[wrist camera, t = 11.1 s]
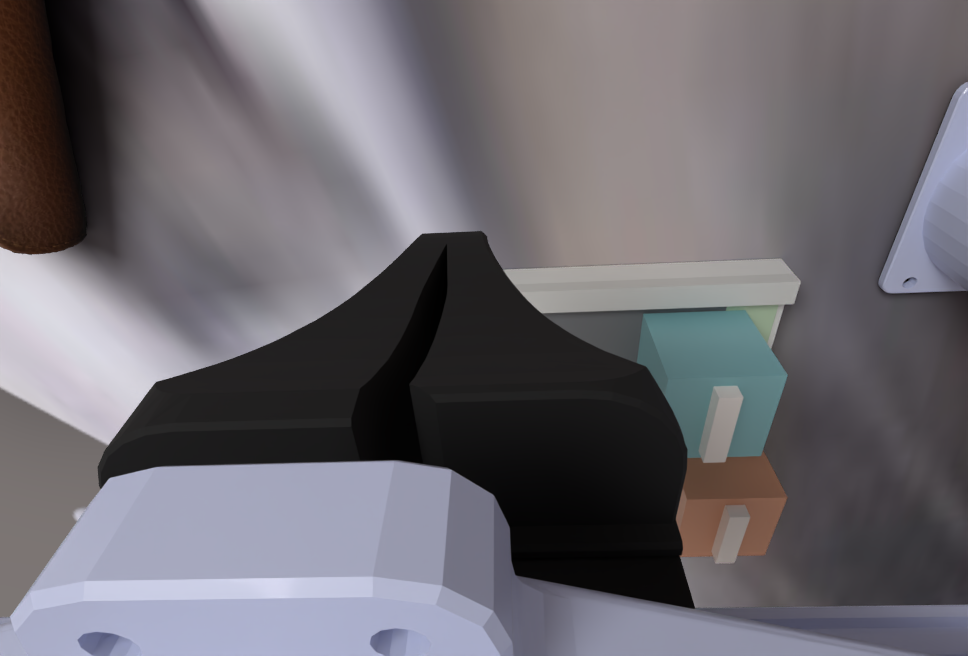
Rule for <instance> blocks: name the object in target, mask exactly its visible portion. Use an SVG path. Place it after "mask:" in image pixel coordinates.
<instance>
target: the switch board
mask: <svg viewBox="0 0 968 656" xmlns="http://www.w3.org/2000/svg"><path fill="white" fill-rule="evenodd" d="M503 271H504V272H505V273H506V275H507V276H508V278H509V279H510V280H511V282H512V283H513V284H514V285H515V287H516V288H517V289H518V290H519V291H520V292H521V294H522V295H523V296H524V297H525V298H526V299H527V300H528V301H529V302H530V303H531V304H532V305H533V306H534V307H535V308H536V309H537V310H538V311H540V312H541V313H542V314H543V315H544V316H546V317H547V318H548V319H550V320H551V321H552V322H554V323H555V324H557V325H558V326H560V327H561V328H563V329H564V330H566V331H567V332H569V333H571V334H573V335H574V336H576V337H578V338H579V339H581V340H583V341H585V342H587V343H589V344H591V345H593V346H595V347H597V348H599V349H602V350H604V351H606V352H609V353H611V354H614V355H617V356H620V357H622V358H625V359H628V360H630V361H633V362H636V363H637V357H638V350H639V342H640V334H641V326H642V319H643V314H649V313H676V312H704V311H732V310H746V312H747V313H748V315H749V317H750V318H751V320H752V321H753V323H754V324H755V326H756V327H757V329H758V330H759V332H760V333H761V335H762V336H763V338H764V340H765V341H766V343H767V344H768V346H769V347H770V349H771V348H772V345H773V342H774V338H775V335H776V332H777V328H778V325H779V322H780V318H781V315H782V312H783V308H784V305H785V304H794V302H795V299H796V296H797V293H798V289H799V286H800V283H801V281H800V280H799V279H798V278H797V277H796V275H795V274H794V273H793V272H792V271H791V270H790V268H789V267H788V266H787V265H786V264H785V263H784V261H783V260H782V259H758V260H733V261H708V262H682V263H657V264H632V265H607V266H582V267H557V268H532V269H507V270H503Z"/></svg>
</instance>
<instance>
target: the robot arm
mask: <svg viewBox="0 0 968 656" xmlns="http://www.w3.org/2000/svg"><path fill="white" fill-rule="evenodd" d="M908 278H910V279H909V281H907V282H906V283H903V282H904V281H905V280H906V279H908ZM878 284H879V286H880V288H881V289H882V290H884V291H885V292H886V293H891V294H892V293H919V292H946V291H968V82H966V83H965V84H963V85H961V86H960V87H959V88H958V89H957V90H956V92H955V93H954V95H953V97H952V99H951V102H950V104H949V107H948V109H947V112H946V114H945V117H944V119H943V122H942V124H941V127H940V129H939V132H938V134H937V137H936V139H935V142H934V144H933V147H932V149H931V151H930V154H929V156H928V159H927V161H926V164H925V166H924V169H923V171H922V174H921V176H920V179H919V181H918V184H917V186H916V189H915V191H914V194H913V196H912V199H911V201H910V204H909V206H908V209H907V211H906V214H905V216H904V219H903V221H902V224H901V226H900V229H899V231H898V233H897V236H896V238H895V241H894V243H893V246H892V248H891V251H890V253H889V256H888V258H887V261H886V263H885V266H884V268H883V271H882V273H881V276H880V278H879V282H878ZM687 453H688V449H687V447H686V444H685V441H684V437H683V434H682V431H681V428H680V426H679V423H678V421H677V419H676V417H675V414H674V412H673V410H672V408H671V406H670V405H669V403H668V401H667V399H666V398H665V396H664V394H663V392H662V391H661V389H660V387H659V386H658V384H657V382H656V381H655V379H654V377H653V376H652V374H651V373H650V371H649V370H648V368H647V367H646V366H644V365H641V364H638V363H636V362H633V361H630V360H628V359H625V358H622V357H620V356H617V355H614V354H611V353H609V352H606V351H604V350H602V349H599V348H597V347H595V346H593V345H591V344H589V343H587V342H585V341H583V340H581V339H579V338H578V337H576V336H574V335H573V334H571V333H569V332H567V331H566V330H564V329H563V328H561V327H560V326H558V325H557V324H555V323H554V322H552V321H551V320H550V319H548V318H547V317H546V316H544V315H543V314H542V313H541V312H540V311H538V310H537V309H536V308H535V307H534V306H533V305H532V304H531V303H530V302H529V301H528V300H527V299H526V298H525V297H524V296H523V295H522V294H521V292H520V291H519V290H518V289H517V288H516V287H515V285H514V284H513V283H512V282H511V280H510V279H509V278H508V276H507V275H506V273H505V272H504V271H503V269H502V268H501V266H500V265H499V263H498V261H497V260H496V258H495V256H494V254H493V253H492V251H491V248H490V246H489V244H488V240H487V236H486V235H485V234H484V233H483V232H482V231H475V232H452V233H429V234H422V235H420V236H419V237H418V238H417V239H416V240H415V241H414V242H413V243H412V244H411V245H410V246H409V247H408V248H407V249H406V250H405V251H404V252H403V253H402V254H401V255H400V256H399V257H398V258H397V259H396V260H395V261H394V262H393V263H392V264H390V265H389V266H388V267H387V268H386V269H385V270H384V271H383V272H382V273H381V274H379V275H378V276H377V277H376V278H375V279H373V280H372V281H371V282H370V283H369V284H367V285H366V286H365V287H364V288H363V289H361V290H360V291H359V292H358V293H356V294H355V295H354V296H352V297H351V298H350V299H348V300H347V301H345V302H344V303H343V304H341V305H340V306H338V307H337V308H335V309H333V310H332V311H330V312H329V313H327V314H326V315H324V316H322V317H321V318H319V319H317V320H316V321H314V322H312V323H310V324H308V325H306V326H304V327H302V328H300V329H298V330H296V331H294V332H292V333H291V334H289V335H287V336H285V337H283V338H281V339H279V340H277V341H274V342H272V343H270V344H267V345H265V346H263V347H260V348H258V349H256V350H253V351H251V352H248V353H246V354H243V355H240V356H238V357H235V358H233V359H230V360H227V361H224V362H221V363H218V364H216V365H212V366H209V367H206V368H202V369H199V370H196V371H192V372H189V373H186V374H183V375H179V376H176V377H173V378H169V379H166V380H162V381H158V382H156V383H155V384H154V385H153V387H152V388H151V389H150V390H149V392H148V393H147V394H146V396H145V397H144V399H143V400H142V401H141V403H140V404H139V405H138V407H137V408H136V409H135V411H134V412H133V413H132V415H131V416H130V417H129V419H128V420H127V421H126V423H125V424H124V425H123V427H122V428H121V429H120V431H119V432H118V433H117V435H116V436H115V437H114V439H113V440H112V441H111V443H110V444H109V445H108V447H107V448H106V450H105V451H104V454H103V456H102V459H101V461H100V463H99V466H98V478H99V486H100V488H101V490H100V491H99V492H98V494H97V495H96V496H95V498H94V499H93V500H92V501H91V503H90V504H89V505H88V507H87V508H86V510H85V511H84V512H83V514H82V515H81V517H80V518H79V520H78V521H77V522H76V524H75V525H74V527H73V528H72V530H71V531H70V533H69V534H68V535H67V537H66V538H65V539H64V541H63V542H62V544H61V545H60V547H59V548H58V549H57V551H56V552H55V554H54V555H53V557H52V558H51V559H50V561H49V562H48V564H47V565H46V567H45V568H44V569H43V571H42V572H41V574H40V575H39V576H38V578H37V579H36V581H35V582H34V584H33V585H32V586H31V588H30V589H29V591H28V592H27V594H26V595H25V597H24V598H23V599H22V601H21V602H20V604H19V605H18V606H17V608H16V609H15V611H14V612H13V613H12V615H11V616H10V617H0V656H968V605H898V606H820V607H743V608H695V607H694V603H693V600H692V596H691V593H690V590H689V586H688V583H687V579H686V576H685V573H684V569H683V566H682V562H681V559H680V556H681V555H682V552H683V541H682V538H681V535H680V532H679V528H678V525H677V522H676V515H677V511H678V507H679V502H680V498H681V493H682V489H683V485H684V480H685V476H686V471H687Z"/></svg>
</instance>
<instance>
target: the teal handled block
mask: <svg viewBox="0 0 968 656" xmlns="http://www.w3.org/2000/svg"><path fill="white" fill-rule="evenodd" d="M637 363H638V364H641V365H644V366H646V367H647V368H648V370H649V371H650V373H651V374H652V376H653V377H654V379H655V381H656V382H657V384H658V386H659V387H660V389H661V391H662V392H663V394H664V396H665V398H666V399H667V401H668V403H669V405H670V406H671V408H672V410H673V412H674V414H675V417H676V419H677V421H678V423H679V426H680V428H681V431H682V434H683V437H684V441H685V444H686V447H687V449H688V453H687V458H702V461H703V463H716V462H725V461H726V458H727V457H748V456H761V454H762V451H763V448H764V445H765V442H766V439H767V436H768V433H769V430H770V427H771V424H772V421H773V418H774V415H775V412H776V409H777V406H778V403H779V400H780V397H781V394H782V391H783V388H784V385H785V382H786V379H787V376H788V375H787V373H786V372H785V370H784V369H783V367H782V366H781V364H780V363H779V361H778V359H777V358H776V356H775V355H774V353H773V352H772V350H771V349H770V347H769V346H768V344H767V343H766V341H765V340H764V338H763V336H762V335H761V333H760V332H759V330H758V329H757V327H756V326H755V324H754V323H753V321H752V320H751V318H750V317H749V315H748V313H747V312H746V310H732V311H704V312H676V313H649V314H643V319H642V326H641V334H640V342H639V350H638V357H637Z"/></svg>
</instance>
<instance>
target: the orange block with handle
mask: <svg viewBox="0 0 968 656" xmlns="http://www.w3.org/2000/svg"><path fill="white" fill-rule="evenodd" d="M786 500H787V496H786V494H785V492H784V490H783V488H782V486H781V484H780V482H779V480H778V478H777V476H776V474H775V472H774V470H773V468H772V466H771V464H770V462H769V460H768V458H767V457H766V455H765V453H764V451H762V454H761V456H748V457H727V458H726V461H725V462H716V463H703V461H702V458H687V471H686V476H685V480H684V485H683V489H682V493H681V498H680V502H679V507H678V511H677V515H676V522H677V525H678V528H679V532H680V535H681V538H682V541H683V552H682V555H681V556H680V557H699V556H713V558H714V560H715V563H735V560H736V557H737V556H758V555H765V553H766V551H767V548H768V546H769V543H770V540H771V538H772V535H773V533H774V530H775V528H776V525H777V523H778V520H779V518H780V515H781V513H782V510H783V508H784V505H785V503H786Z"/></svg>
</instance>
